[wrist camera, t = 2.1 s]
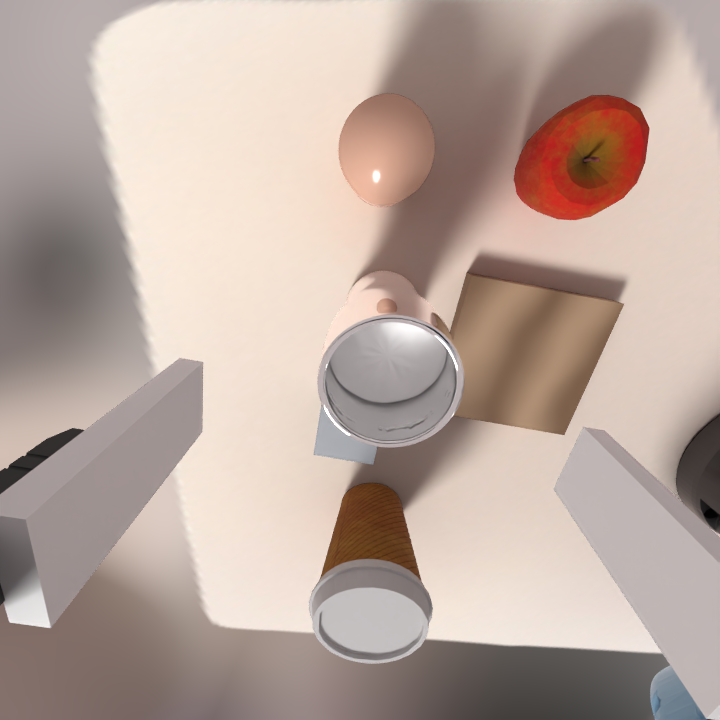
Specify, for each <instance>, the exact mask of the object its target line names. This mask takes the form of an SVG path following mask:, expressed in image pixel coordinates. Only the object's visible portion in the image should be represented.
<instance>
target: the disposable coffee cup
mask: <svg viewBox="0 0 720 720" xmlns="http://www.w3.org/2000/svg"><path fill="white" fill-rule="evenodd" d="M409 537H410V536H409V533H408V528H407V524H406V521H405V517H404V513H403V510H402V506H401V501H400V499H399V497H398V496H397V494H396V493H395V492H394V491H393V490H392V489H390V488H388V487H386V486H384V485H381V484H376V483H366V484H361V485H357V486H355V487H353V488H352V489H350V490H349V491H348V492H347V493H346V494H345V495H344V497H343V499H342V503H341V507H340V511H339V514H338V518H337V521H336V525H335V528H334V531H333V535H332V539H331V542H330V546H329V549H328V553H327V556H326V560H325V563H324V567H323V571H322V574H321V577H320V580H319V582H318V583H317V585H316V586H315V588H314V590H313V591H312V594H311V597H310V601H309V611H310V616H311V618H312V620H313V630H314V633H315V635H316V637H317V639H318V640H319V641H320V642H321V643H322V644H323V645H324V646H325V647H326V648H327V649H328V650H329V651H330V652H332V653H334V654H335V655H337V656H340V657H342V658H344V659H348V660H352V661H356V662H362V663H386V662H391V661H395V660H398V659H401V658H403V657H405V656H408V655H410V654H411V653H413V652H414V651H415V650H416V649H418V648H419V647H420V646H421V645H422V643H423V641H424V640H425V639H426V637H427V633H428V627H429V622H430V620H431V618H432V609H433V608H432V602H431V599H430V596H429V593H428V592H427V590H426V589H425V587H424V585H423V583H422V582H421V578H420V575H419V570H418V568H417V567H418V566H417V563H416V559H415V555H414V551H413V547H412V544H411V539H410V538H409Z"/></svg>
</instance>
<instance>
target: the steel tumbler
mask: <svg viewBox="0 0 720 720" xmlns="http://www.w3.org/2000/svg"><path fill="white" fill-rule="evenodd" d="M317 383H318V393H319V397H320V401H321V404H322V406H323V408H324V410H325V412H326V414H327V415H328V417H329V418H330V420H331V421H332V422H333V423H334V424H335V425H336V426H337V427H338V428H339V429H340V430H341V431H342V432H344V433H345V434H346V435H348V436H350V437H351V438H353V439H355V440H357V441H359V442H362V443H365V444H368V445H372V446H377V447H386V448H394V447H403V446H408V445H412V444H415V443H418V442H421V441H423V440H425V439H427V438H429V437H431V436H432V435H434V434H435V433H437V432H438V431H439V430H441V429H442V428H443V427H444V426H445V425H446V424H447V423H448V422H449V421H450V419H451V418H452V417H453V415H454V414H455V412H456V411H457V409H458V407H459V405H460V402H461V399H462V396H463V392H464V383H465V377H464V369H463V364H462V361H461V358H460V356H459V354H458V352H457V350H456V347H455V344H454V342H453V339H452V337H451V334H450V332H449V330H448V328H447V326H446V325H445V323H444V321H443V319H442V318H441V316H440V315H439V314H438V313H437V311H436V310H435V309H434V308H433V307H432V306H431V304H430V303H428V302H427V301H426V300H425V299H424V298H422V297H421V296H419V295H418V294H417V291H416V290H415V288H414V286H413V285H412V284H411V283H410V281H408V280H407V279H406V278H405V277H403V276H401V275H399V274H397V273H394V272H390V271H376V272H372V273H369V274H367V275H365V276H363V277H362V278H360V279H359V280H358V281H357V282H356V283H355V284H354V285H353V287H352V288H351V290H350V292H349V294H348V297H347V301H346V303H345V304H344V305H343V306H342V308H341V309H340V310H339V311H338V313H337V314H336V316H335V318H334V319H333V321H332V323H331V325H330V327H329V330H328V332H327V335H326V339H325V342H324V346H323V351H322V357H321V363H320V366H319V371H318V381H317Z"/></svg>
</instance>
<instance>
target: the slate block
mask: <svg viewBox="0 0 720 720" xmlns="http://www.w3.org/2000/svg"><path fill="white" fill-rule="evenodd" d="M376 451H377V446H372V445H368V444H365V443H362V442H359V441H357V440H355V439H353V438H351V437H350V436H348V435H346V434H345V433H344V432H342V431H341V430H340V429H339V428H338V427H337V426H336V425H335V424H334V423H333V422H332V421H331V420H330V418H329V417H328V415H327V414H326V412H325V410H324V408H323V406H322V404H321V411H320V417H319V424H318V430H317V436H316V443H315V449H314V455H318V456H324V457H330V458H336V459H342V460H348V461H354V462H360V463H366V464H372V465H373V464H374V459H375V455H376Z"/></svg>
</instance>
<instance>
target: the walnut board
mask: <svg viewBox="0 0 720 720" xmlns="http://www.w3.org/2000/svg"><path fill="white" fill-rule="evenodd" d="M623 305H624V304H622V303H619V302H617V301H614V300H610V299H604V298H599V297H594V296H588V295H583V294H578V293H572V292H567V291H562V290H556V289H551V288H546V287H540V286H535V285H530V284H524V283H519V282H514V281H508V280H503V279H498V278H492V277H487V276H482V275H476V274H471V273H467V274H466V277H465V281H464V284H463V288H462V291H461V295H460V299H459V302H458V306H457V309H456V313H455V316H454V320H453V323H452V327H451V330H450V334H451V337H452V339H453V342H454V344H455V347H456V350H457V352H458V354H459V356H460V358H461V361H462V364H463V369H464V377H465V383H464V392H463V396H462V399H461V402H460V405H459V407H458V409H457V411H456V412H455V414H454V415H453V416H458V417H463V418H469V419H475V420H481V421H486V422H492V423H498V424H503V425H509V426H515V427H521V428H526V429H532V430H538V431H544V432H549V433H555V434H561V435H564V434H565V432H566V430H567V428H568V425H569V423H570V421H571V419H572V417H573V415H574V412H575V410H576V408H577V406H578V404H579V401H580V399H581V397H582V395H583V393H584V391H585V388H586V386H587V384H588V382H589V380H590V377H591V375H592V373H593V371H594V369H595V367H596V364H597V362H598V360H599V358H600V356H601V353H602V351H603V349H604V347H605V345H606V343H607V340H608V338H609V336H610V334H611V332H612V329H613V327H614V325H615V323H616V321H617V319H618V316H619V314H620V312H621V310H622V308H623Z"/></svg>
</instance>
